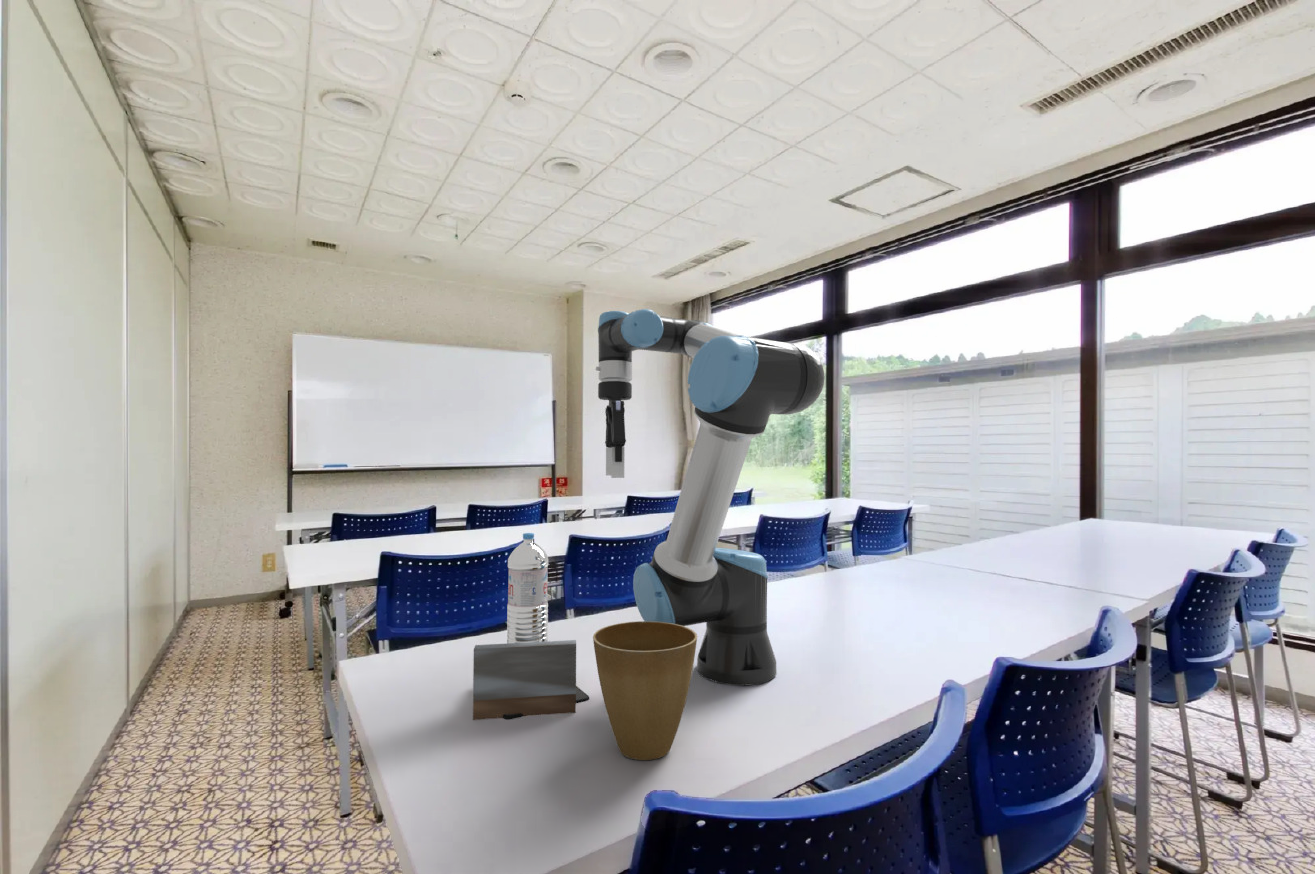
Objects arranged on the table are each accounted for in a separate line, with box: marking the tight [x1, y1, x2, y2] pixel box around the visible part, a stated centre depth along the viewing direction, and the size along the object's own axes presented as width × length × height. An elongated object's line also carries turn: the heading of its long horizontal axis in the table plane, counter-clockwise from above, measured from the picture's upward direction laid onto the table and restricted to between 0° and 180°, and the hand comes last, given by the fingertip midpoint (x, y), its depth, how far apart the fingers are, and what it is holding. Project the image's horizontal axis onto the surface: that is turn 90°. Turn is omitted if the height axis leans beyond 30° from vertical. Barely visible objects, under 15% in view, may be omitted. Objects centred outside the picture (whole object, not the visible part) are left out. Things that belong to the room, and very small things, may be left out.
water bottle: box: [506, 532, 549, 644], centre depth 100 cm, size 7×7×25 cm
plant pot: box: [592, 620, 698, 761], centre depth 84 cm, size 15×15×16 cm
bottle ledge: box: [472, 639, 577, 721], centre depth 100 cm, size 14×16×11 cm
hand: (614, 476), depth 131 cm, fingers open, 13 cm apart
